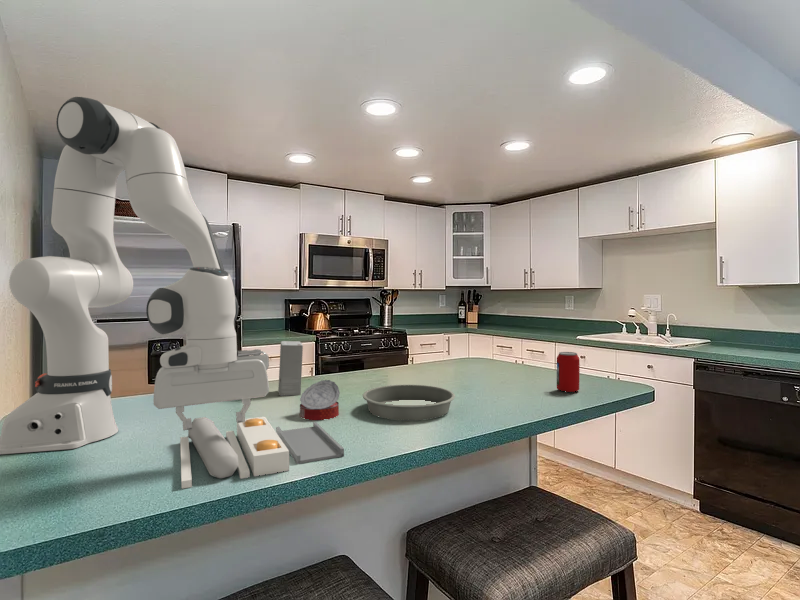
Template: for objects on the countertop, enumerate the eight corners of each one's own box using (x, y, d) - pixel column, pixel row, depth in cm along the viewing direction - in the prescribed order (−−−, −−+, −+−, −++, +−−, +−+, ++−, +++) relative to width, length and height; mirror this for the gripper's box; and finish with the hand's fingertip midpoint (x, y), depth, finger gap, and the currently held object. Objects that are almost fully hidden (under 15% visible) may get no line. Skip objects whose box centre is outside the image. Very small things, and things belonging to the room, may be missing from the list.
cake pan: (347, 418, 116) (347, 401, 116) (380, 397, 140) (380, 382, 140) (444, 427, 109) (444, 408, 109) (462, 402, 133) (462, 387, 133)
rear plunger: (246, 440, 97) (246, 424, 97) (244, 435, 100) (244, 419, 100) (264, 438, 99) (264, 421, 99) (261, 433, 102) (261, 417, 102)
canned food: (340, 432, 120) (353, 400, 117) (306, 436, 113) (319, 403, 110) (320, 404, 128) (332, 374, 125) (287, 407, 121) (299, 375, 118)
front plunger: (258, 466, 83) (258, 447, 83) (255, 460, 86) (255, 441, 86) (279, 463, 84) (279, 444, 84) (275, 457, 88) (275, 438, 87)
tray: (297, 464, 86) (297, 455, 86) (276, 433, 104) (276, 427, 104) (344, 456, 89) (343, 448, 89) (315, 428, 107) (315, 422, 107)
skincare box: (278, 390, 148) (277, 341, 147) (301, 389, 150) (300, 340, 150) (279, 396, 140) (279, 344, 139) (303, 395, 142) (303, 343, 142)
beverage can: (564, 387, 151) (564, 351, 151) (583, 391, 146) (583, 353, 146) (552, 390, 147) (552, 352, 147) (572, 394, 142) (572, 355, 141)
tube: (246, 454, 80) (217, 419, 101) (215, 450, 77) (192, 414, 98) (236, 485, 79) (209, 443, 100) (204, 482, 77) (183, 439, 98)
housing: (181, 488, 75) (181, 467, 75) (180, 442, 97) (180, 426, 97) (289, 470, 82) (289, 450, 82) (265, 431, 105) (264, 416, 105)
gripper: (265, 346, 95) (267, 414, 96) (152, 355, 87) (155, 429, 87) (271, 350, 90) (273, 421, 90) (151, 359, 81) (154, 438, 81)
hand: (214, 425), depth 88 cm, fingers open, 8 cm apart
